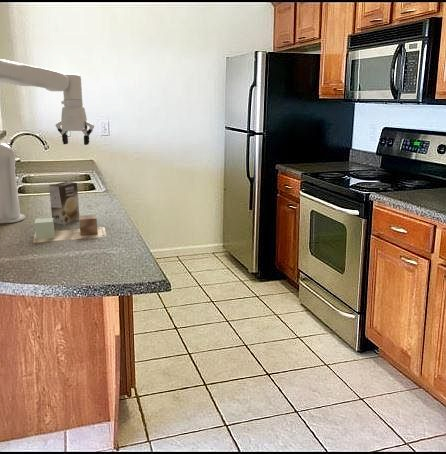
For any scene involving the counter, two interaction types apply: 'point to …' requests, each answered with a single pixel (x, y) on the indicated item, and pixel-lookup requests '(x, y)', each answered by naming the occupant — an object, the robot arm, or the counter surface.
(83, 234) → the walnut block
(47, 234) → the sage block
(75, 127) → the robot arm
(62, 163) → the counter surface
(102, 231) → the board
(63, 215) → the coffee box
